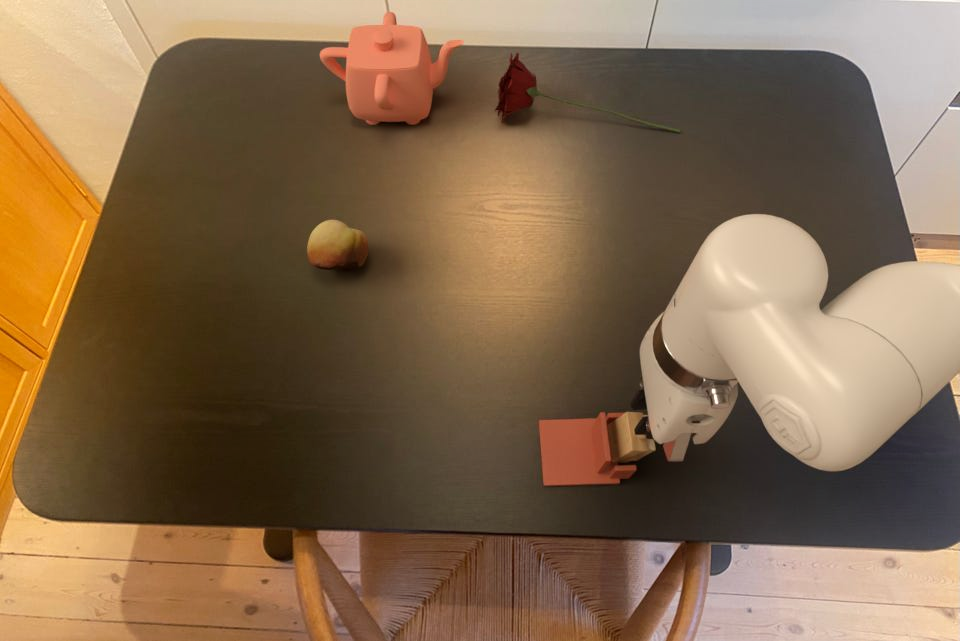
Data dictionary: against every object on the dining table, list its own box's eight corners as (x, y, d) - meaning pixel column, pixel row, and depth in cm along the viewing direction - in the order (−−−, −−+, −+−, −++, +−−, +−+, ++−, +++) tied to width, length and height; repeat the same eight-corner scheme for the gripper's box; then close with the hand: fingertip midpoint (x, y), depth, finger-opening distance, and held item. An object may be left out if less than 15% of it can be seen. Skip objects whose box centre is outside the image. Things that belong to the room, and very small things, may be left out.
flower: (695, 132, 90) (500, 80, 87) (663, 178, 99) (486, 132, 97) (695, 82, 95) (510, 31, 92) (665, 129, 104) (496, 84, 102)
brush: (699, 380, 59) (672, 378, 58) (708, 423, 57) (680, 422, 56) (630, 426, 72) (607, 425, 72) (635, 463, 70) (611, 462, 70)
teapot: (328, 106, 100) (307, 37, 88) (397, 57, 105) (386, -14, 93) (398, 158, 95) (385, 92, 83) (467, 104, 100) (464, 35, 88)
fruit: (382, 270, 85) (372, 237, 78) (328, 297, 84) (314, 266, 76) (358, 232, 88) (347, 198, 81) (306, 257, 86) (290, 224, 79)
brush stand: (620, 418, 75) (631, 401, 69) (629, 483, 72) (642, 470, 66) (538, 421, 75) (543, 403, 69) (543, 486, 72) (548, 473, 66)
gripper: (779, 445, 42) (697, 496, 59) (732, 255, 50) (671, 348, 66) (672, 447, 42) (620, 498, 59) (640, 257, 50) (602, 349, 66)
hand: (647, 418), depth 62 cm, fingers closed on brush, 2 cm apart
